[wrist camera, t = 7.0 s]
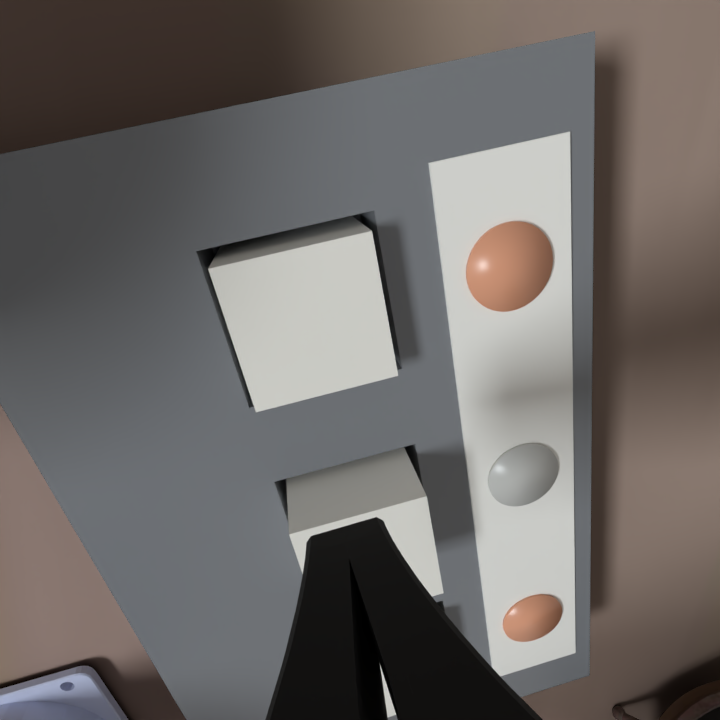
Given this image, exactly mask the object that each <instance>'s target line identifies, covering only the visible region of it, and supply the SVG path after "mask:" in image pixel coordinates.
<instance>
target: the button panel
mask: <svg viewBox="0 0 720 720" xmlns="http://www.w3.org/2000/svg"><path fill="white" fill-rule="evenodd" d="M594 99H595V31H594V32H589V33H584V34H579V35H574V36H570V37H565V38H560V39H555V40H550V41H545V42H540V43H536V44H531V45H526V46H521V47H516V48H511V49H507V50H502V51H497V52H492V53H487V54H482V55H478V56H473V57H468V58H463V59H458V60H453V61H448V62H444V63H439V64H434V65H429V66H424V67H419V68H415V69H410V70H405V71H400V72H395V73H390V74H386V75H381V76H376V77H371V78H366V79H361V80H356V81H352V82H347V83H342V84H337V85H332V86H327V87H323V88H318V89H313V90H308V91H303V92H298V93H294V94H289V95H284V96H279V97H274V98H269V99H265V100H260V101H255V102H250V103H245V104H240V105H235V106H231V107H226V108H221V109H216V110H211V111H206V112H202V113H197V114H192V115H187V116H182V117H177V118H173V119H168V120H163V121H158V122H153V123H148V124H143V125H139V126H134V127H129V128H124V129H119V130H114V131H110V132H105V133H100V134H95V135H90V136H85V137H81V138H76V139H71V140H66V141H61V142H56V143H51V144H47V145H42V146H37V147H32V148H27V149H22V150H18V151H13V152H8V153H3V154H0V404H1V406H2V408H3V409H4V411H5V413H6V414H7V416H8V418H9V419H10V421H11V423H12V425H13V426H14V428H15V430H16V431H17V433H18V435H19V436H20V438H21V440H22V442H23V443H24V445H25V447H26V448H27V450H28V452H29V453H30V455H31V457H32V458H33V460H34V462H35V464H36V465H37V467H38V469H39V470H40V472H41V474H42V475H43V477H44V479H45V481H46V482H47V484H48V486H49V487H50V489H51V491H52V492H53V494H54V496H55V498H56V499H57V501H58V503H59V504H60V506H61V508H62V509H63V511H64V513H65V515H66V516H67V518H68V520H69V521H70V523H71V525H72V526H73V528H74V530H75V532H76V533H77V535H78V537H79V538H80V540H81V542H82V543H83V545H84V547H85V549H86V550H87V552H88V554H89V555H90V557H91V559H92V560H93V562H94V564H95V566H96V567H97V569H98V571H99V572H100V574H101V576H102V577H103V579H104V581H105V583H106V584H107V586H108V588H109V589H110V591H111V593H112V594H113V596H114V598H115V600H116V601H117V603H118V605H119V606H120V608H121V610H122V611H123V613H124V615H125V617H126V618H127V620H128V622H129V623H130V625H131V627H132V628H133V630H134V632H135V634H136V635H137V637H138V639H139V640H140V642H141V644H142V645H143V647H144V649H145V651H146V652H147V654H148V656H149V657H150V659H151V661H152V662H153V664H154V666H155V668H156V669H157V671H158V673H159V674H160V676H161V678H162V679H163V681H164V683H165V684H166V686H167V688H168V690H169V691H170V693H171V695H172V696H173V698H174V700H175V701H176V703H177V705H178V707H179V708H180V710H181V712H182V713H183V715H184V717H185V718H186V720H265V719H266V716H267V713H268V709H269V706H270V703H271V699H272V696H273V693H274V689H275V686H276V683H277V680H278V676H279V673H280V670H281V666H282V663H283V659H284V655H285V651H286V647H287V643H288V639H289V635H290V631H291V627H292V623H293V619H294V615H295V611H296V606H297V601H298V596H299V591H300V586H301V581H302V575H303V574H302V571H301V568H300V565H299V562H298V559H297V556H296V553H295V550H294V548H293V545H292V542H291V539H290V536H289V524H288V505H287V485H286V479H287V478H291V477H294V476H298V475H302V474H305V473H309V472H313V471H317V470H320V469H324V468H328V467H331V466H335V465H339V464H343V463H346V462H350V461H354V460H357V459H361V458H365V457H369V456H372V455H376V454H380V453H383V452H387V451H391V450H395V449H398V448H402V447H404V448H405V450H406V452H407V454H408V457H409V459H410V461H411V463H412V465H413V467H414V470H415V472H416V474H417V476H418V478H419V480H420V483H421V485H422V487H423V489H424V491H425V493H426V496H427V500H428V506H429V512H430V518H431V523H432V529H433V535H434V541H435V546H436V552H437V558H438V564H439V569H440V575H441V581H442V587H443V592H444V593H442V594H439V595H436V596H432V597H433V599H434V600H435V601H436V602H437V604H438V605H439V606H440V607H441V609H442V610H443V611H444V613H445V614H446V615H447V616H448V618H449V619H450V620H451V621H452V622H453V624H454V625H455V626H456V627H457V628H458V630H459V631H460V632H461V633H462V634H463V635H464V637H465V638H466V639H467V640H468V641H469V642H470V643H471V645H472V646H473V647H474V648H475V649H476V650H477V651H478V653H479V654H480V655H481V656H482V657H483V658H484V659H485V660H486V662H487V663H488V664H489V665H490V666H491V667H492V668H493V669H494V670H495V671H496V672H497V673H498V675H499V676H500V677H501V678H502V679H503V680H504V681H505V682H506V683H507V684H508V685H509V686H510V687H511V688H512V689H513V690H514V691H515V692H516V693H517V694H518V695H519V696H520V697H523V696H526V695H529V694H532V693H535V692H539V691H542V690H545V689H548V688H551V687H554V686H557V685H561V684H564V683H567V682H570V681H573V680H576V679H580V678H583V677H586V676H589V675H590V560H591V445H592V330H593V214H594ZM348 216H353V217H354V218H355V219H357V220H358V221H359V222H361V223H362V224H363V225H365V226H366V227H367V228H369V229H370V230H371V231H372V234H373V239H374V245H375V250H376V256H377V261H378V267H379V272H380V278H381V283H382V289H383V294H384V300H385V305H386V311H387V316H388V322H389V327H390V333H391V338H392V344H393V349H394V355H395V360H396V366H397V371H398V376H395V377H392V378H388V379H384V380H380V381H376V382H372V383H368V384H364V385H361V386H357V387H353V388H349V389H345V390H341V391H337V392H333V393H329V394H326V395H322V396H318V397H314V398H310V399H306V400H302V401H298V402H294V403H291V404H287V405H283V406H279V407H275V408H271V409H267V410H263V411H259V412H256V411H255V408H254V405H253V402H252V399H251V396H250V393H249V390H248V387H247V384H246V381H245V378H244V375H243V372H242V369H241V366H240V363H239V360H238V357H237V354H236V351H235V348H234V345H233V342H232V339H231V336H230V333H229V330H228V327H227V324H226V321H225V318H224V315H223V312H222V309H221V306H220V303H219V300H218V297H217V294H216V291H215V288H214V285H213V282H212V279H211V276H210V273H209V270H208V268H209V266H210V264H211V263H212V261H213V259H214V257H215V255H216V253H217V252H218V250H219V248H220V246H221V245H226V244H230V243H234V242H239V241H243V240H247V239H252V238H256V237H260V236H265V235H269V234H274V233H278V232H282V231H287V230H291V229H295V228H300V227H304V226H309V225H313V224H317V223H322V222H326V221H330V220H335V219H339V218H344V217H348ZM388 720H398V719H397V716H396V715H394V716H391V717H388Z"/></svg>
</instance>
